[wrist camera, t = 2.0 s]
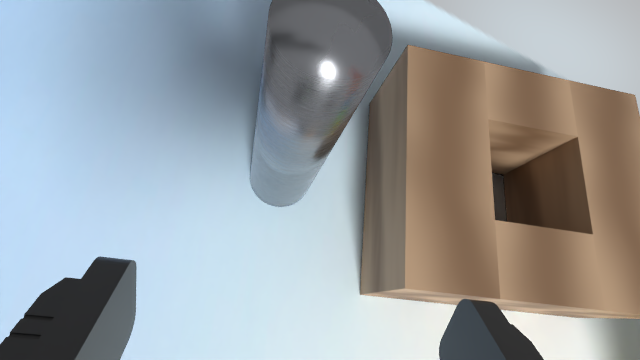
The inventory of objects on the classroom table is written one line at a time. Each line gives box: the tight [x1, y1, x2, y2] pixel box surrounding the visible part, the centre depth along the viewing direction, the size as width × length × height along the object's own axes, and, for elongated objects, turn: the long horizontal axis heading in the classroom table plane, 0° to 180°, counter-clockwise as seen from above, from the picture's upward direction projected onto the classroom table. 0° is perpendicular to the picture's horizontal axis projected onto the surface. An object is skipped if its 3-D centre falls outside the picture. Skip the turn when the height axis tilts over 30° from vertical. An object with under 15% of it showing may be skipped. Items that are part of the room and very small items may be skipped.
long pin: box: [250, 0, 392, 207], centre depth 19 cm, size 4×4×15 cm
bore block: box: [360, 45, 640, 319], centre depth 25 cm, size 16×14×7 cm
